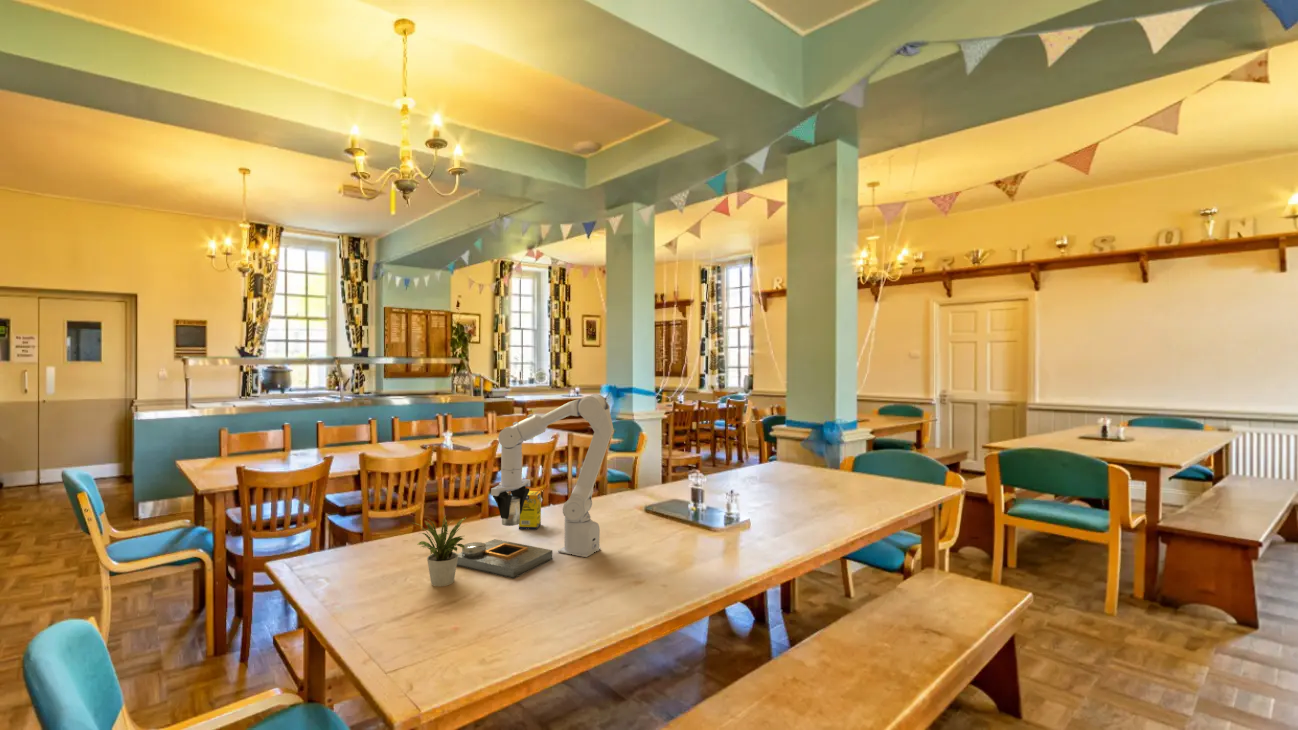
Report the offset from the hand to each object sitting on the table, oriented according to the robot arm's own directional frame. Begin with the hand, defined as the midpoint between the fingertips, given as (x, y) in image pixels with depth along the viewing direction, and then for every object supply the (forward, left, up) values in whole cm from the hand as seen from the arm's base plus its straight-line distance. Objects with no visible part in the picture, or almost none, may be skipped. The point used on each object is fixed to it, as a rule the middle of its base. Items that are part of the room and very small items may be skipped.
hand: (511, 516), depth 168 cm
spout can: (0, 0, -2) cm, 2 cm away
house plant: (-2, +30, -9) cm, 31 cm away
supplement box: (+8, -18, -9) cm, 22 cm away
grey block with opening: (-6, +11, -9) cm, 15 cm away
